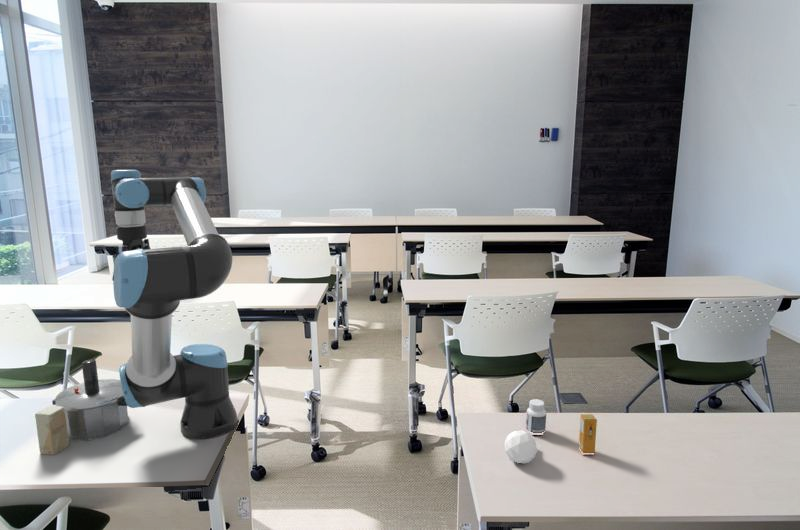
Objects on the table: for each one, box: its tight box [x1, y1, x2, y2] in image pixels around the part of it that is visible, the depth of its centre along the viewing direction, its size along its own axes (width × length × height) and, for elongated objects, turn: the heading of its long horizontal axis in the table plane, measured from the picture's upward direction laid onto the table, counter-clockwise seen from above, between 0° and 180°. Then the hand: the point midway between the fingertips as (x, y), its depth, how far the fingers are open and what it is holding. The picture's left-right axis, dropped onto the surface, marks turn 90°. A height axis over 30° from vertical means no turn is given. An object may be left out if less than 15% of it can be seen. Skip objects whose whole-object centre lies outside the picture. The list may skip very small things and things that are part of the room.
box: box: [34, 405, 70, 456], centre depth 136 cm, size 5×4×11 cm
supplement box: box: [578, 413, 598, 454], centre depth 135 cm, size 3×3×10 cm
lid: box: [55, 359, 124, 411], centre depth 146 cm, size 18×18×10 cm
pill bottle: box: [525, 398, 547, 433], centre depth 145 cm, size 5×5×9 cm
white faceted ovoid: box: [503, 429, 538, 464], centre depth 133 cm, size 8×8×12 cm
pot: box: [51, 397, 129, 441], centre depth 148 cm, size 22×16×9 cm
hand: (138, 298), depth 152 cm, fingers open, 13 cm apart
